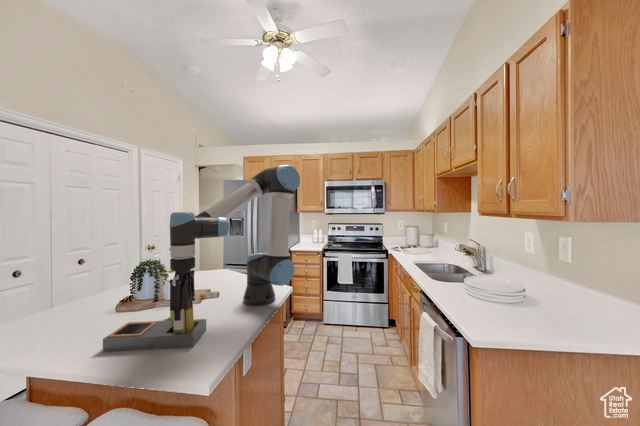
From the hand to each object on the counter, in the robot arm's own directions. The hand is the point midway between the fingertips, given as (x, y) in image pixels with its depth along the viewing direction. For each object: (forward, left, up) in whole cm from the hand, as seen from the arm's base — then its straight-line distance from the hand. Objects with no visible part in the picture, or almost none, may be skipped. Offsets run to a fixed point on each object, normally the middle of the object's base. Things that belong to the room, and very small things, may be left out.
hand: (183, 324), depth 87 cm
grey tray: (+8, 0, -5) cm, 9 cm away
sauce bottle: (0, 0, -5) cm, 5 cm away
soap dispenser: (+10, -19, -5) cm, 22 cm away
